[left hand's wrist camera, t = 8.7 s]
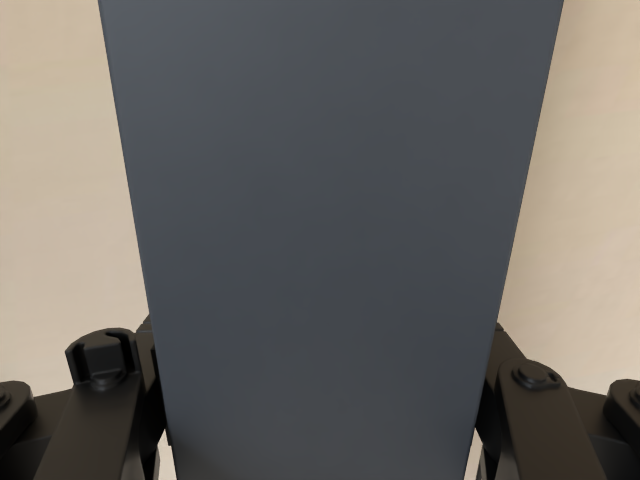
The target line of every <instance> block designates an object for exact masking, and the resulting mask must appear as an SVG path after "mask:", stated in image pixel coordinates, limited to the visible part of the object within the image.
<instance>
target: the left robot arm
mask: <svg viewBox="0 0 640 480" xmlns="http://www.w3.org/2000/svg"><path fill="white" fill-rule="evenodd" d="M65 355H66V358H67V362H68V365H69V369H70V372H71V376H72V379H73V383H74V385H73V388H72V389H68V390H65V391H60V392H56V393H51V394H46V395H42V396H37V397H33V394H32V391H31V388H30V386H29V385H27V384H26V383H25V382H20V381H7V382H1V383H0V480H158V476H159V467H160V456H159V450H158V445H157V444H158V442H159V440H160V438H161V436H162V434H163V431H164V429H165V430H166V436H167V441H168V446H171V441H170V435H169V429H168V423H167V417H166V411H165V405H164V399H163V393H162V387H161V381H160V375H159V369H158V362H157V356H156V350H155V344H154V338H153V332H152V326H151V320H150V314H149V315H148V316H147V317H146V319H145V320H144V321H143V324H141V325H140V327H139V328H138V329H137V330H136V333H133V332H132V331H130V330H128V329H124V328H107V329H103V330H98V331H94V332H92V333H90V334H87V335H85V336H82V337H81V338H79V339H78V340H76V341H75V342H73V343H72V344H71V345H70V346H69V347H68V348H67V349H66V350H65ZM475 428H476V430H477V432H478V434H479V437H480V439H481V441H482V443H483V445H482V450H481V455H480V460H479V465H478V470H477V475H476V480H481V479H482V480H640V381H638V380H631V379H622V380H616V381H615V382H613V383H612V384H611V385H610V387H609V390H608V393H607V396H606V395H601V394H597V393H592V392H587V391H583V390H578V389H574V388H570V387H567V385H566V383H565V382H564V380H563V379H562V377H561V376H560V375H559V374H558V373H556V372H555V371H554V370H552V369H551V368H549V367H547V366H545V365H543V364H541V363H539V362H536V361H532V360H529V359H526V357H525V356H524V355H523V353H522V352H521V351H520V350H519V348H518V347H517V346H516V344H515V343H514V342H513V341H512V339H511V338H510V337H509V335H508V334H507V333H506V332H505V331H504V329H503V328H502V327H501V325H500V324H499V323H496V327H495V332H494V337H493V342H492V347H491V351H490V356H489V361H488V366H487V371H486V375H485V380H484V385H483V390H482V394H481V399H480V404H479V409H478V414H477V418H476V423H475ZM475 428H474V429H475ZM473 434H474V433H473ZM472 440H473V437H472ZM471 445H472V442H471Z"/></svg>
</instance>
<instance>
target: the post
mask: <svg viewBox="0 0 640 480" xmlns="http://www.w3.org/2000/svg"><path fill="white" fill-rule="evenodd" d="M563 2H564V0H98V5H99V11H100V17H101V23H102V29H103V35H104V41H105V47H106V53H107V59H108V65H109V71H110V77H111V83H112V89H113V96H114V102H115V108H116V114H117V120H118V126H119V132H120V138H121V144H122V150H123V156H124V162H125V168H126V174H127V180H128V187H129V193H130V199H131V205H132V211H133V217H134V223H135V229H136V235H137V241H138V247H139V253H140V259H141V265H142V271H143V278H144V284H145V290H146V296H147V302H148V308H149V314H150V320H151V326H152V332H153V338H154V344H155V350H156V356H157V362H158V369H159V375H160V381H161V387H162V393H163V399H164V405H165V411H166V417H167V423H168V429H169V435H170V441H171V447H172V453H173V460H174V466H175V472H176V478H177V480H464V476H465V471H466V466H467V461H468V457H469V452H470V447H471V442H472V437H473V433H474V428H475V423H476V418H477V414H478V409H479V404H480V399H481V394H482V390H483V385H484V380H485V375H486V371H487V366H488V361H489V356H490V351H491V347H492V342H493V337H494V332H495V327H496V323H497V318H498V313H499V308H500V304H501V299H502V294H503V289H504V284H505V280H506V275H507V270H508V265H509V261H510V256H511V251H512V246H513V241H514V237H515V232H516V227H517V222H518V217H519V213H520V208H521V203H522V198H523V194H524V189H525V184H526V179H527V174H528V170H529V165H530V160H531V155H532V150H533V146H534V141H535V136H536V131H537V127H538V122H539V117H540V112H541V107H542V103H543V98H544V93H545V88H546V84H547V79H548V74H549V69H550V64H551V60H552V55H553V50H554V45H555V40H556V36H557V31H558V26H559V21H560V17H561V12H562V7H563Z"/></svg>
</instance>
